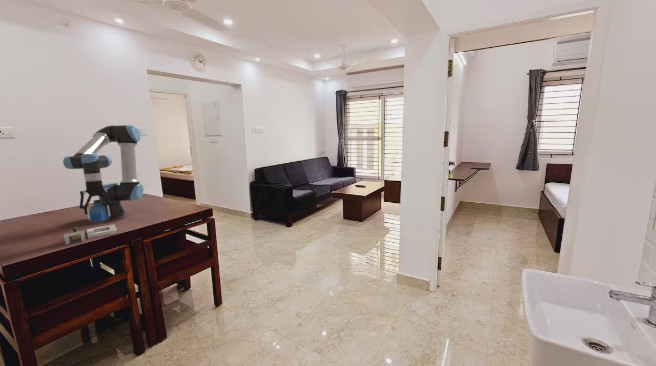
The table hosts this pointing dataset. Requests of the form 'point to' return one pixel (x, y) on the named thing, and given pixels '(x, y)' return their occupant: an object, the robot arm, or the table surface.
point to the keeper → (72, 235)
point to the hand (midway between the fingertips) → (99, 217)
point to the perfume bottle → (98, 212)
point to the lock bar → (75, 235)
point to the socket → (101, 231)
